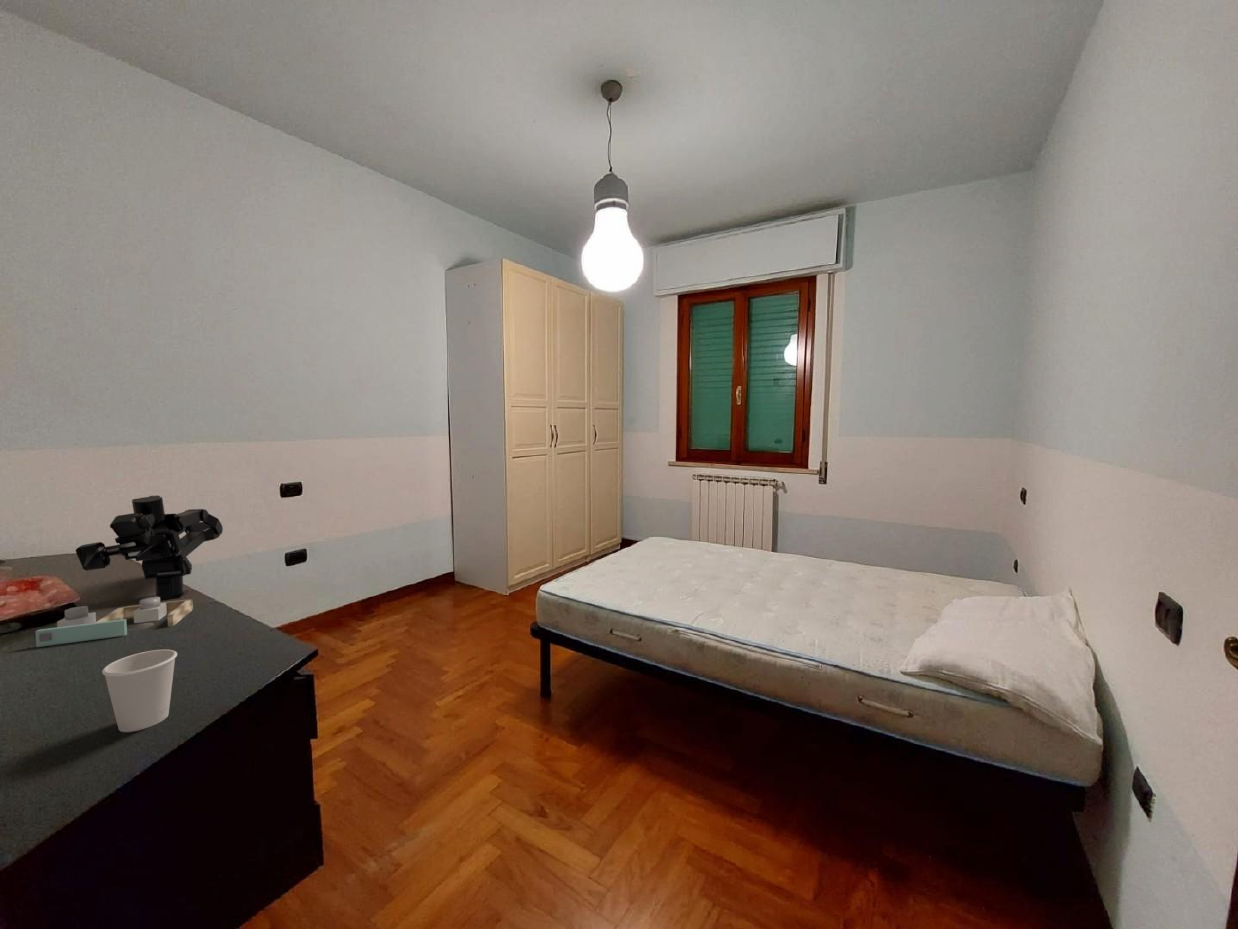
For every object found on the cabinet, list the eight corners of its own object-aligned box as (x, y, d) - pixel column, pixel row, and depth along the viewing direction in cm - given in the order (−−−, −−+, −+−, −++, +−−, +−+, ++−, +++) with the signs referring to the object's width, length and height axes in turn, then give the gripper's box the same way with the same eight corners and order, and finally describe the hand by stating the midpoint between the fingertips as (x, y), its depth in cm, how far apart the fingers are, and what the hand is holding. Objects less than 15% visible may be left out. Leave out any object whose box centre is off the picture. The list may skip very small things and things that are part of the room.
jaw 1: (70, 627, 111) (69, 607, 111) (96, 624, 113) (95, 604, 113) (57, 634, 107) (56, 613, 107) (85, 631, 109) (83, 610, 109)
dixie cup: (193, 705, 79) (191, 648, 78) (145, 737, 70) (141, 673, 70) (143, 706, 78) (140, 649, 78) (88, 738, 70) (84, 674, 70)
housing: (120, 618, 116) (120, 607, 116) (193, 610, 122) (192, 599, 122) (92, 637, 105) (91, 624, 105) (173, 626, 111) (172, 614, 111)
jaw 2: (143, 617, 117) (142, 597, 117) (166, 614, 119) (165, 595, 119) (134, 623, 113) (133, 603, 113) (158, 620, 115) (157, 600, 114)
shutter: (39, 645, 100) (38, 629, 100) (127, 633, 107) (126, 619, 106) (35, 647, 99) (34, 632, 99) (124, 636, 105) (123, 621, 105)
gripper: (89, 517, 117) (43, 541, 103) (181, 503, 123) (150, 523, 109) (105, 557, 120) (62, 585, 106) (194, 541, 126) (165, 566, 112)
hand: (111, 563), depth 108 cm, fingers open, 9 cm apart
